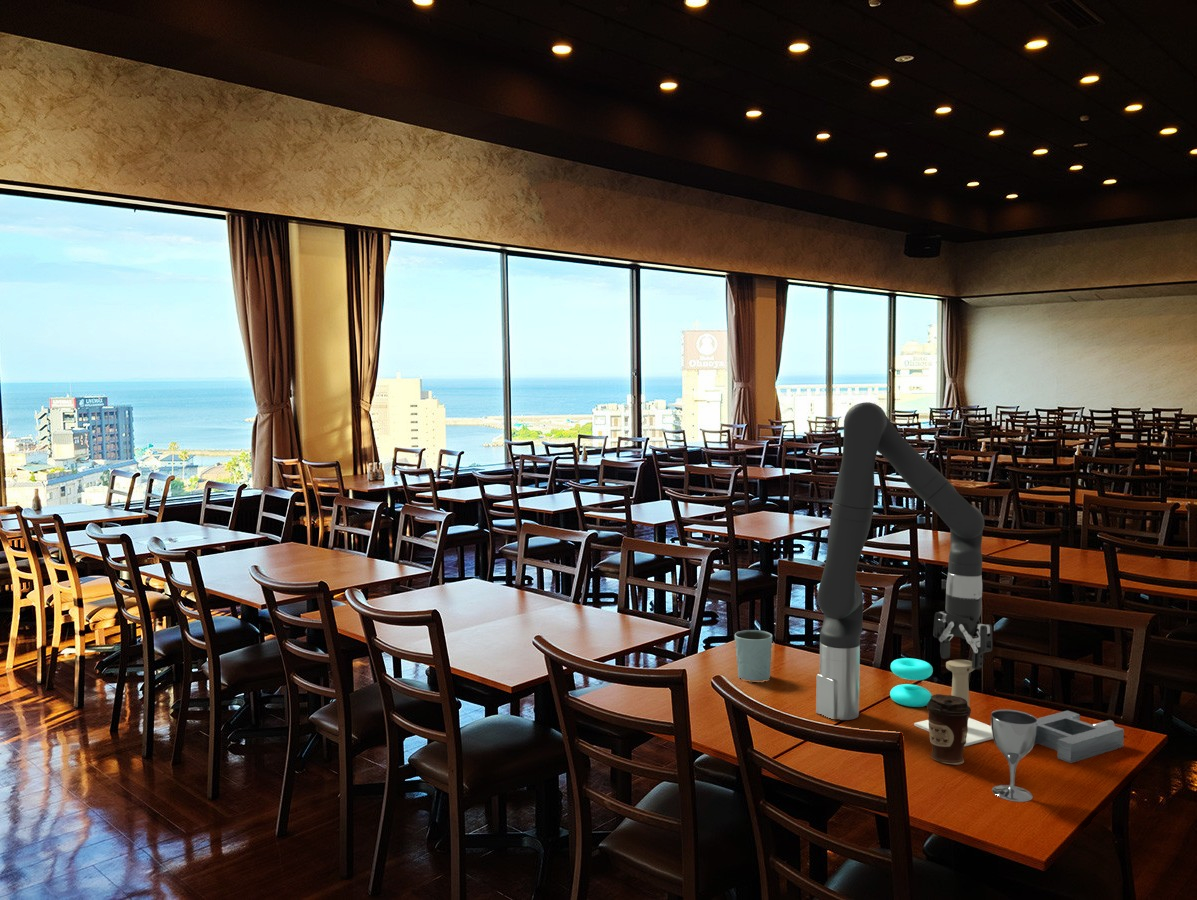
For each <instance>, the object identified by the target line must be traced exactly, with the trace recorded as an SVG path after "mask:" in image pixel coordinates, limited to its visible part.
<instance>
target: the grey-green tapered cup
mask: <svg viewBox="0 0 1197 900" xmlns="http://www.w3.org/2000/svg"><path fill="white" fill-rule="evenodd" d="M734 645H735V655H736V664H737V665H736V666H737V676H738V677H737V678H738V679H739V678H741V679H745V680H750V681H763V680H768V679H769V678H770V679H771V666H772V648H773V634H772V633H770V632H768V631H765V630H756V629H747V630H746V629H745V630H741V631H739V630H738V631H737V632H735V633H734ZM770 679H769V680H770ZM769 680H768V681H769Z"/></svg>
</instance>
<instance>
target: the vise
mask: <svg viewBox="0 0 1197 900" xmlns="http://www.w3.org/2000/svg"><path fill="white" fill-rule="evenodd" d="M1080 718H1081V714H1079V713H1077V712H1074V711H1070V710H1064V711H1060V712H1056V713H1053V714H1049V715H1045V716H1041V717H1039V718H1037V717H1036V719H1037V733H1036V738H1035V742H1034V746H1035V745H1037V744H1038V745H1041V746H1044V747H1046V748H1048V749H1051V750H1054V751H1056V752H1057V755H1056V756H1057V759H1059V760H1062V761H1064V762H1066V763H1069V764H1073V763H1075V762H1076V763H1077V762H1080V761H1083V760H1086V759H1088V758H1089V759H1090V758H1094V757H1095V756H1096V757H1097V756H1098V755H1102V754H1105V752H1106V753H1108V752H1112V751H1115V750H1117V749H1118V748H1119V749H1122V748H1124V739H1125V738H1124V735H1125V734H1124V733H1125V732H1124V731H1125V729H1124V728H1122V727H1118V726H1116V725H1115V722H1114V721H1113V720H1111V719H1108V720H1105V721H1100V722H1098V723H1093V724H1091V723H1090V722H1089V723H1088V722H1086V721H1082V720H1081V719H1080ZM1121 747H1122V748H1121ZM1119 749H1118V750H1119Z"/></svg>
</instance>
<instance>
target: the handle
mask: <svg viewBox="0 0 1197 900" xmlns="http://www.w3.org/2000/svg"><path fill="white" fill-rule="evenodd" d="M945 668H946V669H947V670H948V671H949V672H951V673H952V679H951V681H952V682H951V692H950V695H952V696H956V697H961V698H963V699H965V700H966V701H967V702H968V703H967V705H968V706H969V707H970V688H969V687H970V686H969V674H970V673H971V672H974V670H975V669H973V668H972V660H969V659H952V660H948V661H946V662H945ZM967 725H968V723H967Z"/></svg>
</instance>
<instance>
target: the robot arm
mask: <svg viewBox="0 0 1197 900" xmlns="http://www.w3.org/2000/svg"><path fill="white" fill-rule="evenodd" d="M842 446H843V447H842V458H841V464H840V469H839V472H838V476H837V481H836V484H835V485H836V486H835V489H834V495H833V498H832V499H833V500H832V506H831V512H830V522H829V528H828V530H829V531H828V538H827V539H828V540H827V552H826V559H825V564H824V568H823V570H822V571H823V572H822V575H821V579H820V582H819V586H818V589H817V590H818V591H817V594H816V595H817V596H816V597H817V600H816V601H817V604H818V607H819V609H820V610H821V612H822V613H823V622H822V625H821V629H820V634H819V673H816V680H815V681H816V682H815V683H816V684H815V685H816V686H815V687H816V689H815V691H816V692H815V693H816V694H815V714H818V715H820V714H822V715H821V716H823V715H824V716H823V717H825V716H826V717H825V718H827V717H828V719H829V718H831V719H840V720H841V721H850V720H854V719H857V718H859V715H860V663H861V661H860V658H861V656H860V655H861V653H860V651H861V649H860V648H861V647H860V646H861V645H860V644H861V635H862V631H863V617H864V615H863V614H864V595H863V594H864V593H863V589H862V587H861V584H860V583H859V582H858V581H857V580H856V578H857V570H858V564H859V560H860V557H861V555H862V552H863V549H864V547H865V543H866V541H867V537H868V536H869V531H870V528H871V525H872V518H873V511H874V504H875V465H876V464H875V463H876V458H877V453H879V454H880V455H881V456H882V457H883V458H884V459H885V460H886V461H887V462H888V463H889V464H890V465H891V466H892V467H893V468H894V470H895V471H896V472H897V474H899V476H900V477H901V479H902V480H903V481H904V482H905V483H906V484H907V485H908V486H909V488H910V489H912V491H913V492H914V493H915V494H916V495H917V496H918V497H919V498H920V499H921V500H922V501H923V502H925V504H927V505H928V506H929V507H930V508H931V509H932V510H933V511H934V512H935V513H936V514H937V515H938V517H939V518H940V519H941V520H942V521H943V523H944V524H945V525H946V526H947V527H948V528H949V530H950V533H949V534H950V549H949V554H948V569H947V576H946V577H947V578H946V585H945V587H946V588H945V589H946V590H945V610H943V611H938V612H935V613H934V618H933V629H932V630H933V631H932V636H933V637H934V638H936V639H938V641H939V642H940V643H939V655H940V657H941V658H942V659H944V660H946V659H949V658H950V657H951V643H952V642H950V641H951V640H952V639H953V638H954V637H956V638H957V637H959V638H960V639H963V640H966V643H967V644H969V645H970V647H971V649H972V650H973V652H972V658H971V659H972V660H971V661H972V668H973V669H974V670H981V668H982V667H983V665H984V653H988V652H992V651H993V626H992V624H983V623H981V622H980V617H981V615H982V605H983V604H982V602H983V601H982V600H983V578H982V576H983V575H982V574H983V573H982V572H983V555H982V543H983V542H982V541H983V530H984V528H985V518H984V515H983V513H982V511H981V510H980V509H979V508H978V507H977V506H975V505H972V504H971V503H970V502H969V501H967V499H965V498H964V497H963V496H962V495H961V494H960V493H959V492H958V491H957V490H956V488H955V487H954V485H953V484H952V483H951V482H950V481H948V479H947V478H946V477H945V476H944V475H943V474H942V473H941V472H940V471H939V470H938V469H937V468H936V467H935V466H933V464H931V463H930V462H929V461H928V460H927V459H926V458H924V456H922V455H921V454H920V453H919V452H918V451H917V450H916V449H915V448H914V447H912V446H913V445H911V444H910V443H909V442H908V441H907V440H906V439H905V438H904V437H903V435H901V433H900V432H899V431H898V430H897V429H896V427H895V426H894V424H893V423H892V422H891V420H890V419H889V418H888V416H887V415H886V412H885V411H884V410H883V408H882V407H881V406H879V405H878V404H876V403H873V402H865V401H864V402H860V403H856V404H855V405H853V406H851V408H849V409H848V411H847V412H846V413H845V416H844V420H843V443H842ZM946 624H947V626H946ZM945 627H946V628H945ZM831 719H830V720H831ZM840 720H839V721H840Z"/></svg>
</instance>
